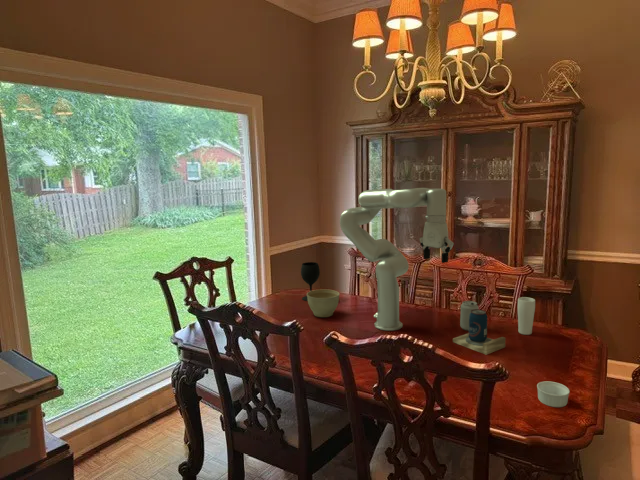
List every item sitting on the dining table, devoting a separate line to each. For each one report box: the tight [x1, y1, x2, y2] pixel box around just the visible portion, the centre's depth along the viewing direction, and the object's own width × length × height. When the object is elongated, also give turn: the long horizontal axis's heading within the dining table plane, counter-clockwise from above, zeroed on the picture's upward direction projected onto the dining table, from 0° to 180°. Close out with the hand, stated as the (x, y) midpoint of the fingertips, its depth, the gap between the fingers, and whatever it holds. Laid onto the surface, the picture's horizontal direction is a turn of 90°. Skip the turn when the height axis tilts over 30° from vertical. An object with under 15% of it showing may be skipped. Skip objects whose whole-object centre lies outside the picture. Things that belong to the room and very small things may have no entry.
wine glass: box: [300, 261, 321, 302], centre depth 250 cm, size 10×10×20 cm
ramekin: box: [536, 380, 571, 408], centre depth 138 cm, size 9×9×4 cm
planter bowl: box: [306, 289, 340, 318], centre depth 223 cm, size 16×16×11 cm
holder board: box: [452, 332, 507, 356], centre depth 182 cm, size 16×12×4 cm
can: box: [459, 300, 479, 332], centre depth 199 cm, size 8×8×12 cm
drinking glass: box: [517, 296, 536, 336], centre depth 192 cm, size 7×7×15 cm
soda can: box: [468, 308, 488, 343], centre depth 181 cm, size 7×7×12 cm
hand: (435, 260), depth 185 cm, fingers open, 9 cm apart
